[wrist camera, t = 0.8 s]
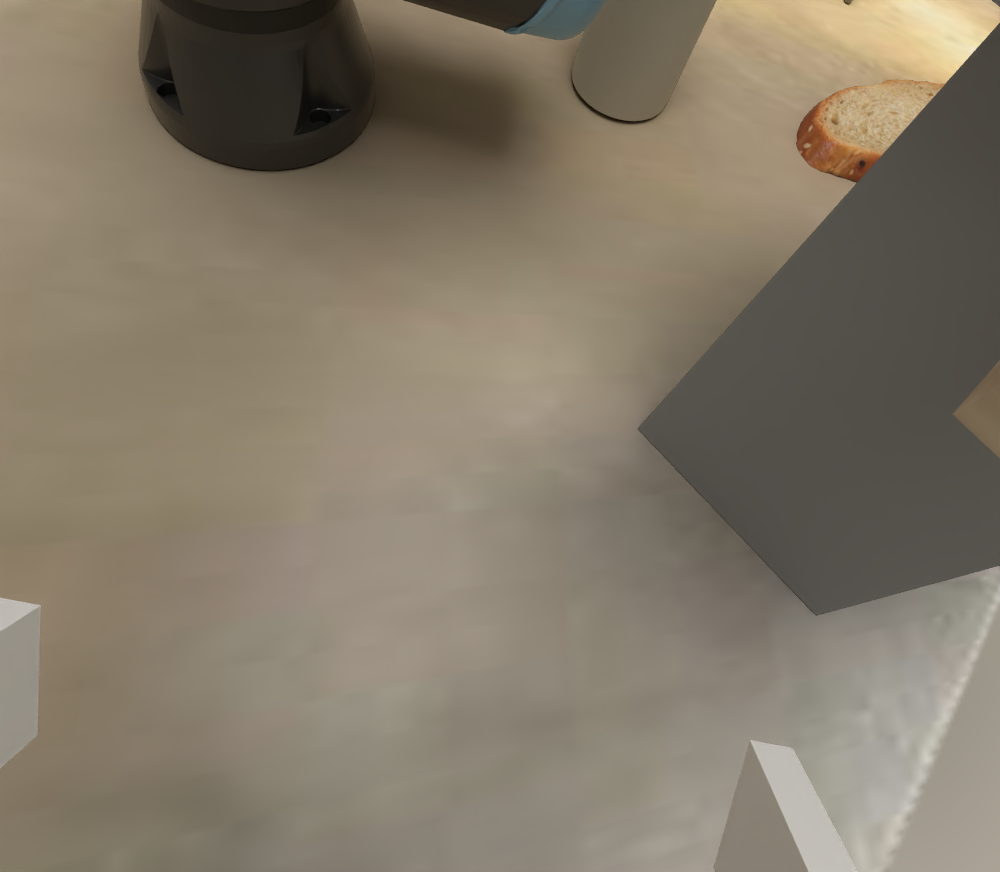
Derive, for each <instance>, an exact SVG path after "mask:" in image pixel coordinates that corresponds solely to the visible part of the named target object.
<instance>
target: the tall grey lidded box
mask: <svg viewBox="0 0 1000 872" xmlns="http://www.w3.org/2000/svg"><path fill="white" fill-rule="evenodd" d="M992 1H993V2H994V3H996V4H997V5H998V6H1000V0H992ZM999 361H1000V23H999V24H998V25H997V27H996V28H995V29H994V30H993V31H992V32H991V33H990V34H989V36H988V37H987V38H986V39H985V40H984V41H983V42H982V43H981V44H980V46H979V47H978V48H977V49H976V50H975V51H974V52H973V53H972V55H971V56H970V57H969V58H968V59H967V60H966V61H965V62H964V64H963V65H962V66H961V67H960V68H959V69H958V70H957V71H956V73H955V74H954V75H953V76H952V77H951V78H950V79H949V80H948V81H947V83H946V84H945V85H944V86H943V87H942V88H941V89H940V90H939V92H938V93H937V94H936V95H935V96H934V97H933V98H932V99H931V101H930V102H929V103H928V104H927V105H926V106H925V107H924V108H923V110H922V111H921V112H920V113H919V114H918V115H917V116H916V117H915V119H914V120H913V121H912V122H911V123H910V124H909V125H908V126H907V127H906V129H905V130H904V131H903V132H902V133H901V134H900V135H899V136H898V138H897V139H896V140H895V141H894V142H893V143H892V144H891V145H890V147H889V148H888V149H887V150H886V151H885V152H884V153H883V154H882V156H881V157H880V158H879V159H878V160H877V161H876V162H875V163H874V164H873V166H872V167H871V168H870V169H869V170H868V171H867V172H866V173H865V175H864V176H863V177H862V178H861V179H860V180H859V181H858V182H857V184H856V185H855V186H854V187H853V188H852V189H851V190H850V191H849V193H848V194H847V195H846V196H845V197H844V198H843V199H842V200H841V201H840V203H839V204H838V205H837V206H836V207H835V208H834V209H833V210H832V212H831V213H830V214H829V215H828V216H827V217H826V218H825V219H824V221H823V222H822V223H821V224H820V225H819V226H818V227H817V228H816V230H815V231H814V232H813V233H812V234H811V235H810V236H809V237H808V239H807V240H806V241H805V242H804V243H803V244H802V245H801V246H800V247H799V249H798V250H797V251H796V252H795V253H794V254H793V255H792V256H791V258H790V259H789V260H788V261H787V262H786V263H785V264H784V265H783V267H782V268H781V269H780V270H779V271H778V272H777V273H776V274H775V276H774V277H773V278H772V279H771V280H770V281H769V282H768V283H767V284H766V286H765V287H764V288H763V289H762V290H761V291H760V292H759V293H758V295H757V296H756V297H755V298H754V299H753V300H752V301H751V302H750V304H749V305H748V306H747V307H746V308H745V309H744V310H743V311H742V313H741V314H740V315H739V316H738V317H737V318H736V319H735V320H734V322H733V323H732V324H731V325H730V326H729V327H728V328H727V329H726V330H725V332H724V333H723V334H722V335H721V336H720V337H719V338H718V339H717V341H716V342H715V343H714V344H713V345H712V346H711V347H710V348H709V350H708V351H707V352H706V353H705V354H704V355H703V356H702V357H701V359H700V360H699V361H698V362H697V363H696V364H695V365H694V366H693V367H692V369H691V370H690V371H689V372H688V373H687V374H686V375H685V376H684V378H683V379H682V380H681V381H680V382H679V383H678V384H677V385H676V387H675V388H674V389H673V390H672V391H671V392H670V393H669V394H668V396H667V397H666V398H665V399H664V400H663V401H662V402H661V403H660V404H659V406H658V407H657V408H656V409H655V410H654V411H653V412H652V413H651V415H650V416H649V417H648V418H647V419H646V420H645V421H644V422H643V424H642V425H641V426H640V427H639V428H638V430H639V431H640V432H641V433H642V434H643V435H644V436H645V437H646V438H647V439H648V440H649V441H650V442H651V443H652V444H653V445H654V446H655V447H656V448H657V449H658V450H659V452H660V453H661V454H662V455H663V456H664V457H665V458H666V459H667V460H668V461H669V462H670V463H671V464H672V465H673V466H674V467H675V468H676V469H677V470H678V471H679V472H680V474H681V475H682V476H683V477H684V478H685V479H686V480H687V481H688V482H689V483H690V484H691V485H692V486H693V487H694V488H695V489H696V490H697V491H698V492H699V493H700V494H701V496H702V497H703V498H704V499H705V500H706V501H707V502H708V503H709V504H710V505H711V506H712V507H713V508H714V509H715V510H716V511H717V512H718V513H719V514H720V515H721V516H722V518H723V519H724V520H725V521H726V522H727V523H728V524H729V525H730V526H731V527H732V528H733V529H734V530H735V531H736V532H737V533H738V534H739V535H740V536H741V537H742V538H743V540H744V541H745V542H746V543H747V544H748V545H749V546H750V547H751V548H752V549H753V550H754V551H755V552H756V553H757V554H758V555H759V556H760V557H761V558H762V559H763V560H764V562H765V563H766V564H767V565H768V566H769V567H770V568H771V569H772V570H773V571H774V572H775V573H776V574H777V575H778V576H779V577H780V578H781V579H782V580H783V581H784V583H785V584H786V585H787V586H788V587H789V588H790V589H791V590H792V591H793V592H794V593H795V594H796V595H797V596H798V597H799V598H800V599H801V600H802V601H803V602H804V603H805V605H806V606H807V607H808V608H809V609H810V610H811V611H812V612H813V613H814V614H815V615H820V614H824V613H827V612H831V611H835V610H838V609H842V608H846V607H849V606H853V605H857V604H860V603H864V602H868V601H871V600H875V599H879V598H882V597H886V596H890V595H893V594H897V593H901V592H904V591H908V590H912V589H915V588H919V587H923V586H926V585H930V584H934V583H937V582H941V581H945V580H948V579H952V578H956V577H959V576H963V575H967V574H970V573H974V572H978V571H981V570H985V569H989V568H992V567H996V566H1000V458H999V457H998V456H997V455H996V454H994V453H993V452H992V451H991V450H990V449H989V448H988V447H987V446H986V445H985V444H984V443H983V442H982V441H981V440H979V439H978V438H977V437H976V436H975V435H974V434H973V433H972V432H971V431H970V430H969V429H968V428H967V427H966V426H964V425H963V424H962V423H961V422H960V421H959V420H958V419H957V418H956V417H955V416H954V415H953V413H954V412H955V411H956V410H957V408H958V407H959V406H960V405H961V404H962V403H963V402H964V400H965V399H966V398H967V397H968V396H969V395H970V394H971V392H972V391H973V390H974V389H975V388H976V387H977V386H978V384H979V383H980V382H981V381H982V380H983V379H984V378H985V377H986V375H987V374H988V373H989V372H990V371H991V370H992V369H993V367H994V366H995V365H996V364H997V363H998V362H999Z"/></svg>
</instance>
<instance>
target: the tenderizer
mask: <svg viewBox="0 0 1000 872" xmlns="http://www.w3.org/2000/svg"><path fill="white" fill-rule="evenodd" d="M953 415H954V416H955V417H956V418H957V419H958V420H959V421H960V422H961V423H962V424H963V425H964V426H966V427H967V428H968V429H969V430H970V431H971V432H972V433H973V434H974V435H975V436H976V437H977V438H978V439H979V440H981V441H982V442H983V443H984V444H985V445H986V446H987V447H988V448H989V449H990V450H991V451H992V452H993V453H994V454H996V455H997V456H998V457H999V458H1000V361H999V362H998V363H997V364H996V365H995V366H994V367H993V369H992V370H991V371H990V372H989V373H988V374H987V375H986V377H985V378H984V379H983V380H982V381H981V382H980V383H979V384H978V386H977V387H976V388H975V389H974V390H973V391H972V392H971V394H970V395H969V396H968V397H967V398H966V399H965V400H964V402H963V403H962V404H961V405H960V406H959V407H958V408H957V410H956V411H955V412H954V413H953Z"/></svg>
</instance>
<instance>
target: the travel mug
mask: <svg viewBox="0 0 1000 872" xmlns="http://www.w3.org/2000/svg"><path fill="white" fill-rule="evenodd" d="M715 2H716V0H606V2H605V4H604V5H603V7H602V9H601V10H600V12H599V13H598V15H597V16H596V17H595V19H594V20H593V21H592V23H591V24H590V25H589V26H588V27H587V28H586V29H585V30H584V32H583V36H582V39H581V42H580V45H579V48H578V51H577V55H576V58H575V61H574V64H573V68H572V80H573V83H574V86H575V88H576V90H577V92H578V93H579V95H580V96H581V97H582V98H583V99H584V100H585V101H586V102H587V103H588V104H589V105H590V106H591V107H593V108H594V109H596V110H597V111H599V112H601V113H603V114H605V115H607V116H610V117H612V118H616V119H620V120H626V121H641V120H646V119H650V118H652V117H654V116H656V115H658V114H659V113H660V112H661V111H662V110H663V109H664V108H665V106H666V104H667V102H668V100H669V98H670V96H671V94H672V92H673V90H674V88H675V86H676V83H677V81H678V79H679V77H680V75H681V73H682V71H683V69H684V67H685V65H686V63H687V61H688V59H689V56H690V54H691V52H692V50H693V48H694V46H695V44H696V42H697V40H698V38H699V36H700V34H701V32H702V29H703V27H704V25H705V23H706V21H707V19H708V17H709V15H710V13H711V11H712V9H713V7H714V5H715Z"/></svg>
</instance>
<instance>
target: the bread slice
mask: <svg viewBox="0 0 1000 872" xmlns="http://www.w3.org/2000/svg"><path fill="white" fill-rule="evenodd" d="M944 85H945V84H935V83H930V82H928V81H926V82H916V81H913V80H898V79H897V80H888V81H885V82H883V83H881V84H879V85H871V86H855V87H851V88H847V89H844V90H841V91H838V92H836V93H834V94H833V95H831V96H829V97H828V98H826V99H824V100H823V101H821V102H820V103H818V104H817V105H816V106H815V107H814V108H813V109H812V110H811V111H810V112H809V113H808V114H807V115H806V116H805V118H804V119H803V121H802V122H801V124H800V127H799V129H798V132H797V143H796V145H797V148H798V150H799V153H800V154H801V155H802V157H803V158H804V159H805V161H806V162H807V163H808V164H809V165H810V166H811V167H813V168H815V169H817V170H819V171H821V172H825V173H830V174H833V175H835V176H838V177H841V178H845V179H848V180H851V181H854V182H856V183H857V182H858V181H859V180H860V179H861V178H862V177H863V176H864V175H865V173H866V172H867V171H868V170H869V169H870V168H871V167H872V166H873V164H874V163H875V162H876V161H877V160H878V159H879V158H880V157H881V156H882V154H883V153H884V152H885V151H886V150H887V149H888V148H889V147H890V145H891V144H892V143H893V142H894V141H895V140H896V139H897V138H898V136H899V135H900V134H901V133H902V132H903V131H904V130H905V129H906V127H907V126H908V125H909V124H910V123H911V122H912V121H913V120H914V119H915V117H916V116H917V115H918V114H919V113H920V112H921V111H922V110H923V108H924V107H925V106H926V105H927V104H928V103H929V102H930V101H931V99H932V98H933V97H934V96H935V95H936V94H937V93H938V92H939V90H940V89H941V88H942V87H943V86H944Z"/></svg>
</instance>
